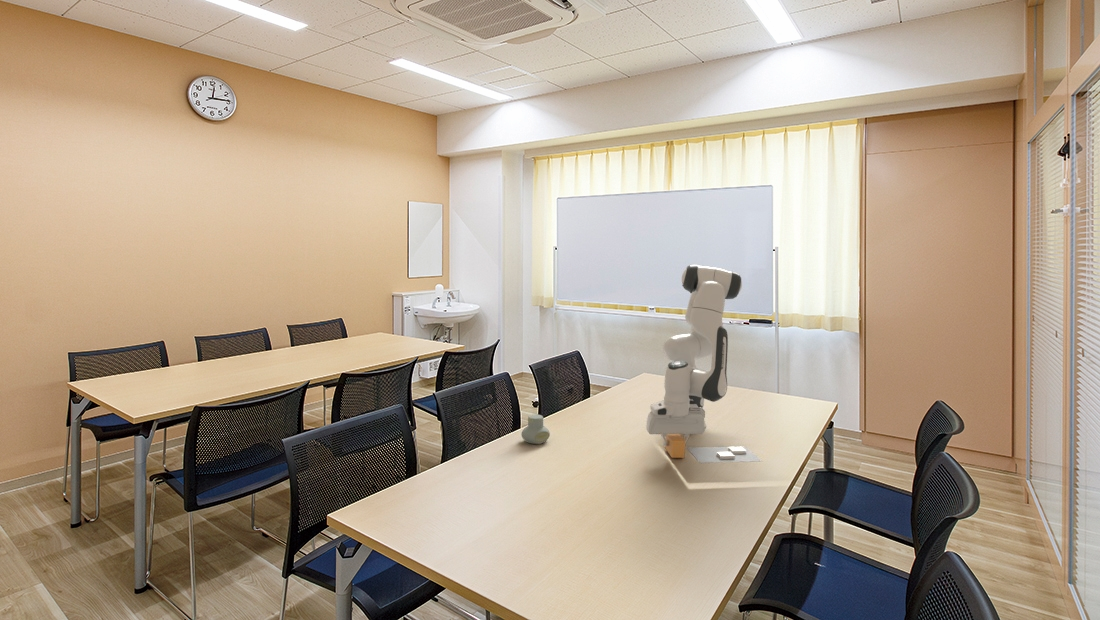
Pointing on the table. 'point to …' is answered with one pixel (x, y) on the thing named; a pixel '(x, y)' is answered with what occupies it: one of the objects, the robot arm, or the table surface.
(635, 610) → the table surface
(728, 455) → the mark
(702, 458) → the board
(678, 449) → the block
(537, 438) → the air freshener
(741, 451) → the mark
